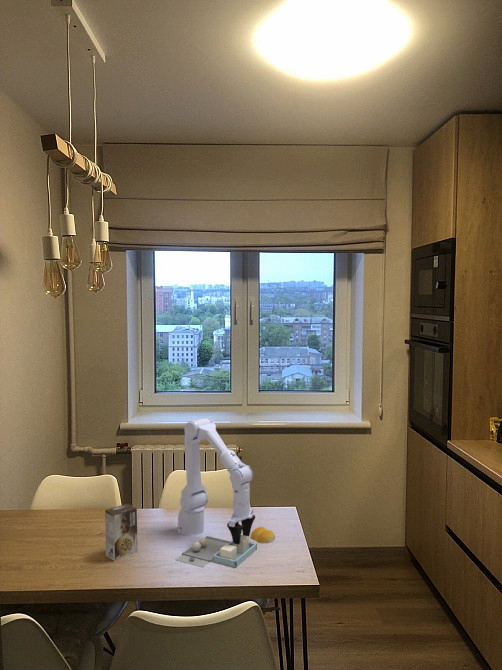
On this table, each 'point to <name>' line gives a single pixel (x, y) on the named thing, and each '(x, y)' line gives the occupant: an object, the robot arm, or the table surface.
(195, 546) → the pebble
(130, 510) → the coffee box
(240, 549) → the stone block far
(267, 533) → the bread roll
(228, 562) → the blue bin
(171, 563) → the table surface
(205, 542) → the pebble
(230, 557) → the stone block near
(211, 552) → the slate tray
